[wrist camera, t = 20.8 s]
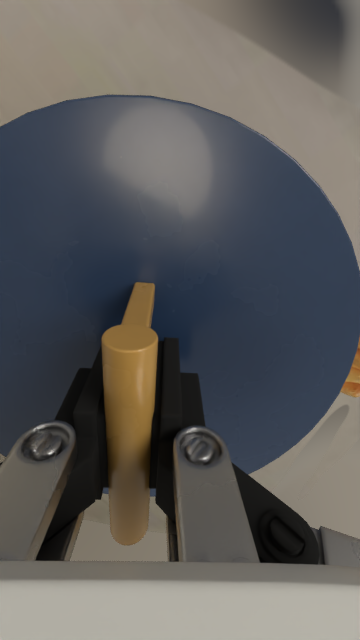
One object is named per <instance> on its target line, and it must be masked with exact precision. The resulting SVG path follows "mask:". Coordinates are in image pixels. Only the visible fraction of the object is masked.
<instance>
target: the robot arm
mask: <svg viewBox="0 0 360 640" xmlns="http://www.w3.org/2000/svg"><path fill="white" fill-rule="evenodd" d="M103 488H109V483H108V461H107V440H106V420H105V406H104V385H103V365H102V344H101V347H100V349H99V351H98V354H97V356H96V359H95V361H94V363H93V366H92V368H79V370H78V371H77V374H76V376H75V378H74V380H73V382H72V384H71V386H70V388H69V390H68V392H67V394H66V396H65V398H64V400H63V403H62V405H61V407H60V409H59V411H58V413H57V415H56V417H55V419H54V420H53V421H46V422H42V423H39V424H37V425H35V426H32V427H31V428H29V429H28V430H27V431H25V432H24V433H23V434H22V435H21V436H20V438H19V439H18V440H17V442H16V443H15V445H14V446H13V448H12V449H11V451H10V452H9V454H8V455H7V457H6V458H5V460H4V461H3V462H2V463H0V640H360V539H357V538H354V537H351V536H348V535H346V534H343V533H340V532H337V531H334V530H331V529H328V528H325V527H322V526H321V527H320V528H319V530H317V529H315V528H312V527H310V526H309V525H308V524H307V522H306V521H305V520H304V519H303V518H302V517H301V516H300V515H299V514H297V513H296V512H295V511H293V510H292V509H291V508H290V507H288V506H287V505H286V504H285V503H283V502H282V501H281V500H280V499H278V498H277V497H276V496H274V495H273V494H272V493H271V492H269V491H268V490H267V489H265V488H264V487H263V486H262V485H260V484H259V483H258V482H256V481H255V480H254V479H253V478H251V477H250V476H249V475H248V474H246V473H245V472H244V471H242V470H241V469H240V468H239V467H237V466H236V465H235V464H233V463H232V462H231V459H230V455H229V452H228V448H227V445H226V443H225V441H224V439H223V438H222V437H221V436H220V434H219V433H217V432H216V431H214V430H213V429H211V428H208V427H206V426H205V419H204V411H203V404H202V397H201V390H200V383H199V376H198V373H182V372H180V357H179V338H169V337H164V341H158V352H157V370H156V388H155V407H154V414H153V419H152V438H151V458H150V477H149V489H156V498H155V501H156V504H157V505H158V506H159V507H160V508H161V509H162V510H163V511H164V513H165V514H166V530H167V551H168V552H167V553H168V562H136V561H131V562H130V561H125V562H124V561H70V558H71V555H72V552H73V549H74V545H75V542H76V539H77V536H78V533H79V530H80V526H81V523H82V520H83V516H84V510H85V509H86V508H88V507H89V506H90V505H91V504H93V503H94V502H95V499H98V500H101V497H102V492H103Z"/></svg>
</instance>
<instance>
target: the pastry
mask: <svg viewBox="0 0 360 640" xmlns="http://www.w3.org/2000/svg"><path fill="white" fill-rule="evenodd" d="M340 392H342V393H344V394H346V395H349V396H352V397H359V396H360V338H359V343H358V348H357V352H356V355H355V358H354V361H353V364H352V367H351V370H350V373H349V375H348V377H347V379H346V381H345V383H344V385H343V387H342V389H341V391H340Z"/></svg>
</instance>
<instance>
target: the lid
mask: <svg viewBox="0 0 360 640" xmlns="http://www.w3.org/2000/svg"><path fill="white" fill-rule="evenodd" d="M164 337H169V338H179V357H180V372H182V373H198V376H199V383H200V390H201V397H202V404H203V411H204V419H205V426H206V427H208V428H211V429H213V430H214V431H216V432H217V433H219V434H220V436H221V437H222V438H223V439H224V441H225V443H226V445H227V448H228V452H229V455H230V459H231V462H232V463H233V464H235V465H236V466H237V467H239V468H240V469H241V470H242V471H244V472H245V473H246V474H250V473H252V472H254V471H256V470H258V469H260V468H262V467H264V466H265V465H267V464H269V463H270V462H272V461H274V460H275V459H277V458H279V457H280V456H281V455H283V454H284V453H285V452H287V451H288V450H289V449H291V448H292V447H293V446H295V445H296V444H297V443H298V442H299V441H300V440H301V439H302V438H303V437H305V436H306V435H307V434H308V433H309V432H310V431H311V430H312V429H313V428H314V427H315V425H316V424H317V423H318V422H319V421H320V420H321V418H322V417H323V416H324V415H325V414H326V413H327V411H328V410H329V408H330V407H331V405H332V404H333V402H334V401H335V399H336V398H337V396H338V395H339V393H340V391H341V389H342V387H343V385H344V383H345V381H346V379H347V377H348V375H349V373H350V370H351V367H352V364H353V361H354V358H355V355H356V352H357V348H358V343H359V338H360V271H359V267H358V264H357V260H356V256H355V253H354V249H353V246H352V242H351V240H350V238H349V236H348V234H347V231H346V229H345V227H344V225H343V223H342V221H341V218H340V216H339V214H338V212H337V211H336V210H335V208H334V207H333V205H332V204H331V202H330V201H329V199H328V198H327V196H326V195H325V193H324V192H323V190H322V189H321V187H320V186H319V185H318V184H317V183H316V181H315V180H314V179H313V178H312V177H311V176H310V175H309V174H308V173H307V172H306V171H305V170H304V169H303V168H302V167H301V165H300V164H299V163H298V162H297V161H296V160H295V159H294V158H292V157H291V156H290V155H288V154H287V153H286V152H285V151H283V150H282V149H281V148H279V147H278V146H277V145H276V144H274V143H273V142H272V141H270V140H269V139H268V138H267V137H265V136H263V135H262V134H260V133H258V132H256V131H254V130H252V129H251V128H249V127H247V126H245V125H243V124H242V123H240V122H238V121H236V120H234V119H232V118H231V117H228V116H225V115H222V114H220V113H217V112H214V111H211V110H208V109H206V108H203V107H200V106H197V105H194V104H192V103H186V102H181V101H176V100H170V99H165V98H160V97H154V96H142V95H102V96H94V97H87V98H80V99H73V100H66V101H63V102H60V103H57V104H53V105H50V106H47V107H44V108H41V109H38V110H34V111H31V112H28V113H26V114H24V115H22V116H20V117H18V118H16V119H14V120H12V121H11V122H9V123H7V124H5V125H3V126H1V127H0V454H2V455H3V456H5V457H7V455H8V454H9V452H10V451H11V449H12V448H13V446H14V445H15V443H16V442H17V440H18V439H19V438H20V436H21V435H22V434H23V433H24V432H25V431H27V430H28V429H29V428H31V427H32V426H35V425H37V424H39V423H42V422H46V421H53V420H54V419H55V417H56V415H57V413H58V411H59V409H60V407H61V405H62V403H63V400H64V398H65V396H66V394H67V392H68V390H69V388H70V386H71V384H72V382H73V380H74V378H75V376H76V374H77V371H78V370H79V368H92V366H93V363H94V361H95V359H96V356H97V354H98V351H99V349H100V347H101V344H102V365H103V385H104V406H105V420H106V440H107V461H108V483H109V488H103V492H102V493H104V494H109V511H110V530H111V534H112V537H113V538H114V539H115V541H117V542H118V543H119V544H122V545H133V544H135V543H137V542H139V541H140V540H141V539H142V538H143V537H144V535H145V534H146V532H147V529H148V520H149V501H150V497H153V496H156V489H149V477H150V458H151V438H152V419H153V414H154V407H155V388H156V370H157V352H158V341H164Z"/></svg>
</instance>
